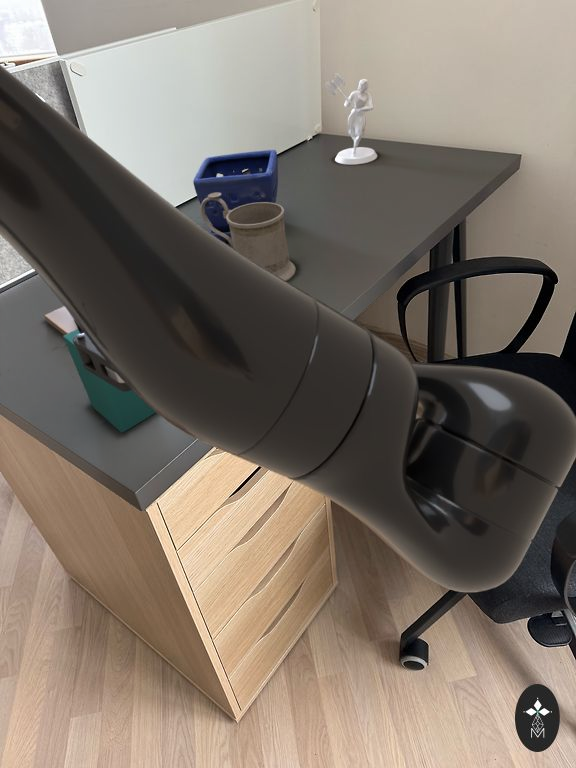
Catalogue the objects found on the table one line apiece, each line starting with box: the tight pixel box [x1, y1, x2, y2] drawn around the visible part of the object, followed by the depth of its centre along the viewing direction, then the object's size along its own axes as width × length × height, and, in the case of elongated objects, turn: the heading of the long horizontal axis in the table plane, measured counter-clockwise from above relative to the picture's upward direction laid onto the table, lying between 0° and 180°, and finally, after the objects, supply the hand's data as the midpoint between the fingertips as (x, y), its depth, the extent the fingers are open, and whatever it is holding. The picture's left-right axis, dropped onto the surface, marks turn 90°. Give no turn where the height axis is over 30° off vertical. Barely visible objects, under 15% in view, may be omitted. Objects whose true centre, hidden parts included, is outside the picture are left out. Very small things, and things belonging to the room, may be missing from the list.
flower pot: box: [192, 149, 279, 243], centre depth 99 cm, size 13×13×12 cm
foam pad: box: [62, 329, 157, 434], centre depth 62 cm, size 4×7×10 cm, turn 43°
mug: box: [200, 192, 297, 282], centre depth 86 cm, size 14×10×12 cm
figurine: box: [324, 72, 378, 166], centre depth 123 cm, size 10×10×18 cm
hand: (127, 295), depth 48 cm, fingers open, 8 cm apart
